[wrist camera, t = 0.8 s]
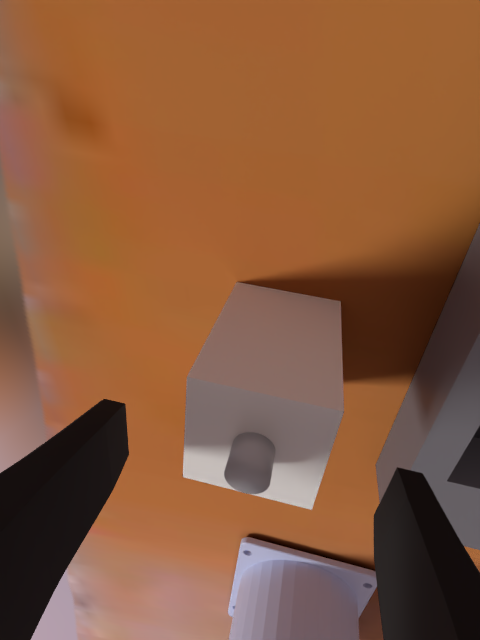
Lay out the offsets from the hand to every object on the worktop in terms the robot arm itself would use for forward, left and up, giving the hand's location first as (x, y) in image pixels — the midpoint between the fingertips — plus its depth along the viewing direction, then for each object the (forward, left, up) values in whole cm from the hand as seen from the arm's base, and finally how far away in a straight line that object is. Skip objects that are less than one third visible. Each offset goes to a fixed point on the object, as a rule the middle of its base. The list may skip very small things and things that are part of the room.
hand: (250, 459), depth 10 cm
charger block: (0, 0, -6) cm, 6 cm away
